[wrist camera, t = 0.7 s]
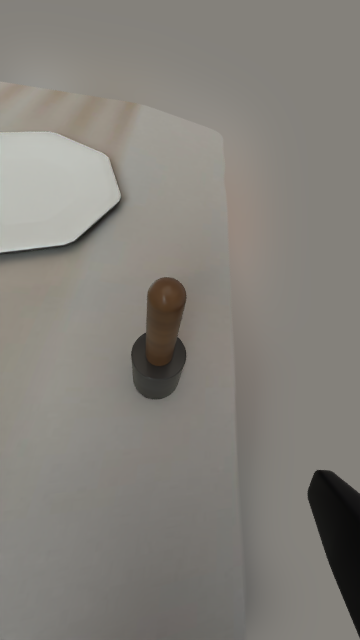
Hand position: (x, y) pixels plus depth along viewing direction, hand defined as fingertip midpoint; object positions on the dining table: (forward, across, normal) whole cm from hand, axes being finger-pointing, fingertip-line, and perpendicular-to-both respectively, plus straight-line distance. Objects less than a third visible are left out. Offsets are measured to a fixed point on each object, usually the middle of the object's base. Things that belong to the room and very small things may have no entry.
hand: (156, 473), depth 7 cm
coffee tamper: (+16, 0, +6) cm, 17 cm away
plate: (+33, +19, -8) cm, 39 cm away
